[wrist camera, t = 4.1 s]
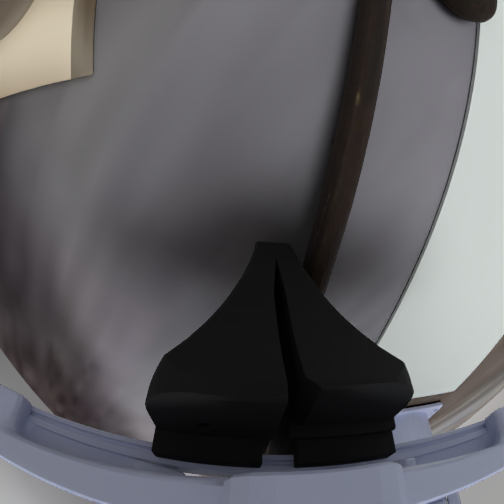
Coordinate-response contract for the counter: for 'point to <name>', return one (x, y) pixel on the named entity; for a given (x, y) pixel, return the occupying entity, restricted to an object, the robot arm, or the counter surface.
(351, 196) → the dark brown hooked rod
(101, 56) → the counter surface
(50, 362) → the counter surface
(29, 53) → the cup on beige base
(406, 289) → the tool mat
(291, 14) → the counter surface
